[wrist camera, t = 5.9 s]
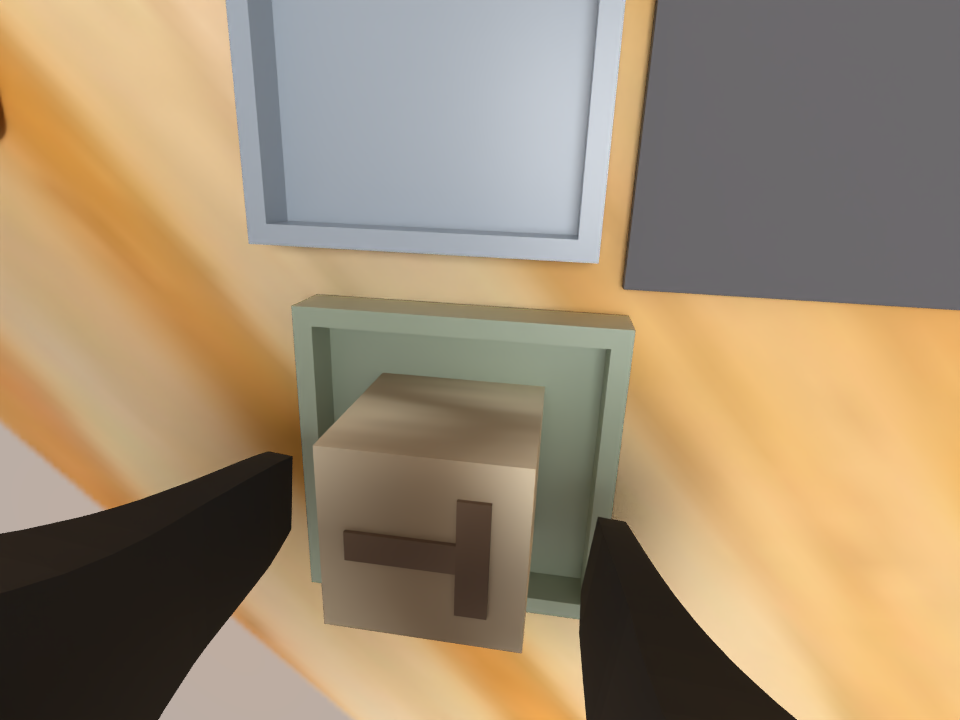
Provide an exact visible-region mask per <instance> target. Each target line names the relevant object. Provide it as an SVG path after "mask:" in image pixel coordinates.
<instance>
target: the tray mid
mask: <svg viewBox="0 0 960 720" xmlns="http://www.w3.org/2000/svg"><path fill="white" fill-rule="evenodd" d="M625 1H626V0H226V9H227V19H228V30H229V40H230V51H231V61H232V72H233V82H234V93H235V103H236V114H237V124H238V135H239V145H240V156H241V166H242V177H243V187H244V198H245V208H246V219H247V229H248V240H249V244H263V245H281V246H298V247H316V248H334V249H352V250H369V251H387V252H405V253H422V254H440V255H458V256H476V257H493V258H511V259H529V260H546V261H564V262H582V263H599V254H600V244H601V234H602V225H603V215H604V205H605V196H606V186H607V176H608V166H609V157H610V147H611V137H612V127H613V118H614V108H615V98H616V88H617V79H618V69H619V59H620V49H621V40H622V30H623V20H624V11H625Z"/></svg>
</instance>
